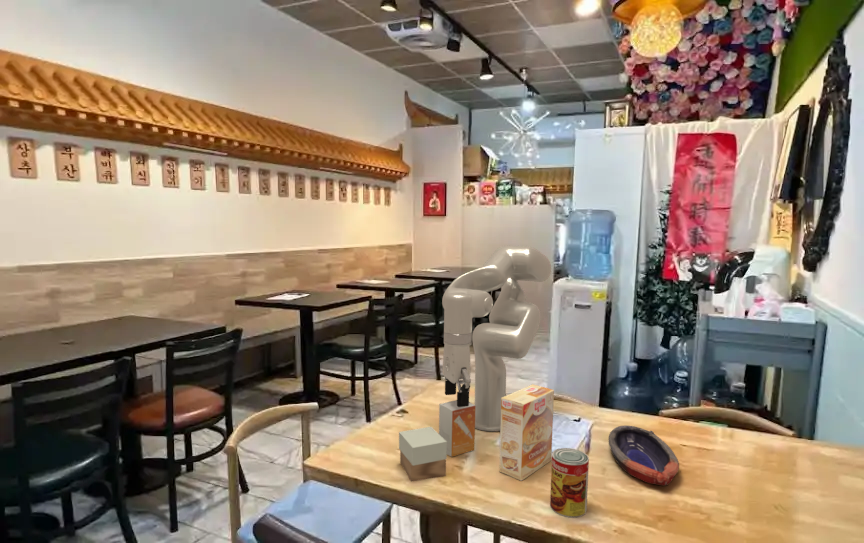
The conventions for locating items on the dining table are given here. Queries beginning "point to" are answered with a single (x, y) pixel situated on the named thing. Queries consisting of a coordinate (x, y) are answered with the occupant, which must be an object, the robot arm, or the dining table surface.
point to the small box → (457, 427)
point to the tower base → (423, 469)
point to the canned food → (569, 482)
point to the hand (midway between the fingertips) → (456, 400)
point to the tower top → (422, 445)
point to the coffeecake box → (526, 431)
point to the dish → (643, 454)
